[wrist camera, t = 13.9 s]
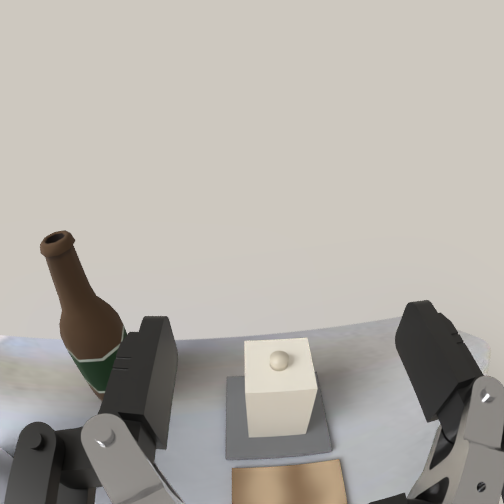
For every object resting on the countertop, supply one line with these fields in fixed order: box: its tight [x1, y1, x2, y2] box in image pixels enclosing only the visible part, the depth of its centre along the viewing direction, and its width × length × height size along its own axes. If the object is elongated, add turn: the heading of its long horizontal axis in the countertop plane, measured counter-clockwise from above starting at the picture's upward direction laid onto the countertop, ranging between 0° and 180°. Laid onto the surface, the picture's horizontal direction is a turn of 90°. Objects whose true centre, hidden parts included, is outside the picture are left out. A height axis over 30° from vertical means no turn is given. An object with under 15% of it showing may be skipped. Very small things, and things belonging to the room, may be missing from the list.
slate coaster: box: [225, 372, 332, 460], centre depth 35 cm, size 12×12×1 cm
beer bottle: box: [40, 231, 127, 401], centre depth 31 cm, size 8×8×24 cm
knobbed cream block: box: [244, 338, 318, 438], centre depth 31 cm, size 7×7×11 cm
